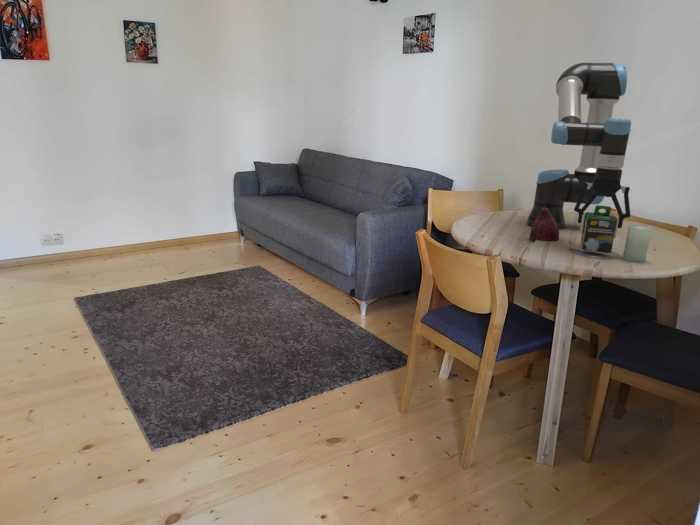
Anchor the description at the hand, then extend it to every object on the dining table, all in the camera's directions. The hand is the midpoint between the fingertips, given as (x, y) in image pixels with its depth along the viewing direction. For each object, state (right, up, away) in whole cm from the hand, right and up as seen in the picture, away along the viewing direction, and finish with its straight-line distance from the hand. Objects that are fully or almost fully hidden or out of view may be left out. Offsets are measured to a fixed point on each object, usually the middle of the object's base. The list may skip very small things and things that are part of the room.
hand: (597, 235), depth 174 cm
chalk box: (0, -5, +1) cm, 5 cm away
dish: (0, -7, +2) cm, 7 cm away
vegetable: (-11, -1, +20) cm, 22 cm away
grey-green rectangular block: (+10, -9, -4) cm, 14 cm away
